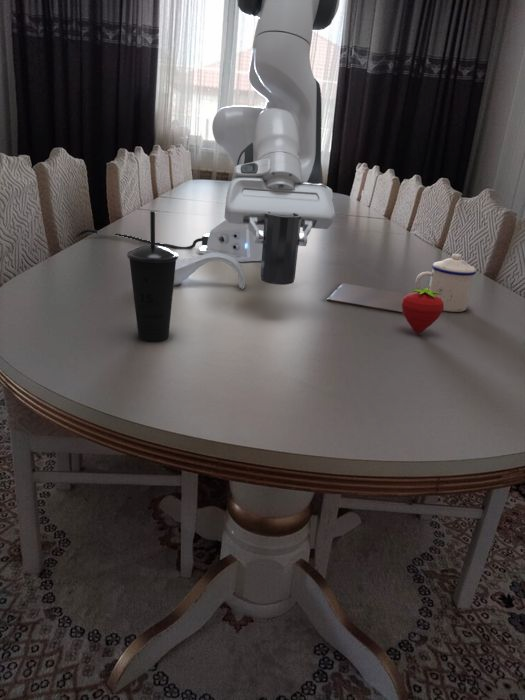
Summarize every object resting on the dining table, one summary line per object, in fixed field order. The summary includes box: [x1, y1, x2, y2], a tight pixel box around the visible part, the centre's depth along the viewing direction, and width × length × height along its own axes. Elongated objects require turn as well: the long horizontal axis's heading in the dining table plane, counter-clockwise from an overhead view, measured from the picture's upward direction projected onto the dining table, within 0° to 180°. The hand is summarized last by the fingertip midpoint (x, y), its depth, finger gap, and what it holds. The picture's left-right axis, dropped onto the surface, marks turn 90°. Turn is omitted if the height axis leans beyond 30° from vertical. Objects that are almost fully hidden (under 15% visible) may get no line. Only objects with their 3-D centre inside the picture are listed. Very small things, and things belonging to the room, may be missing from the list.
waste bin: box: [259, 211, 301, 286], centre depth 94 cm, size 6×6×12 cm
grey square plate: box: [326, 283, 409, 314], centre depth 117 cm, size 16×16×1 cm
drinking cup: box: [126, 211, 179, 343], centre depth 81 cm, size 8×8×20 cm
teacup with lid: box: [415, 253, 477, 313], centre depth 113 cm, size 12×9×12 cm
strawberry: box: [401, 280, 444, 334], centre depth 95 cm, size 6×8×10 cm
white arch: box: [174, 253, 246, 290], centre depth 116 cm, size 24×12×7 cm, turn 91°
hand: (280, 243), depth 93 cm, fingers closed on waste bin, 6 cm apart
